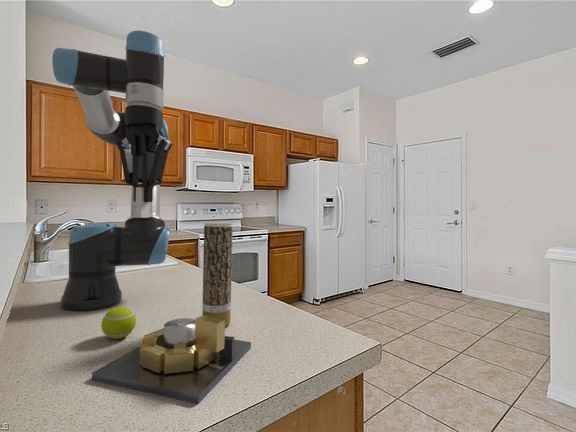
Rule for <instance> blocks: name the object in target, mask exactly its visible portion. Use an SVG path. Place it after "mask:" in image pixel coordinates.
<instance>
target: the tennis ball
mask: <svg viewBox="0 0 576 432" xmlns="http://www.w3.org/2000/svg"><path fill="white" fill-rule="evenodd" d="M136 325H137V316H136V314H135V312H134V311H133V310H132V309H130V308H128V307H126V306H117V307H114V308H111V309H110V310H109V311H107V312H106V313H105V314H104V317H103V318H102V321H101V331H102V332H103V334H104V335H105V336H106V337H108V338H109V339H113V340H120V339H123V338H126V337H128V336H129V335H130V334H131V333H132V332H133V331H134V330H135V327H136Z"/></svg>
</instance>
